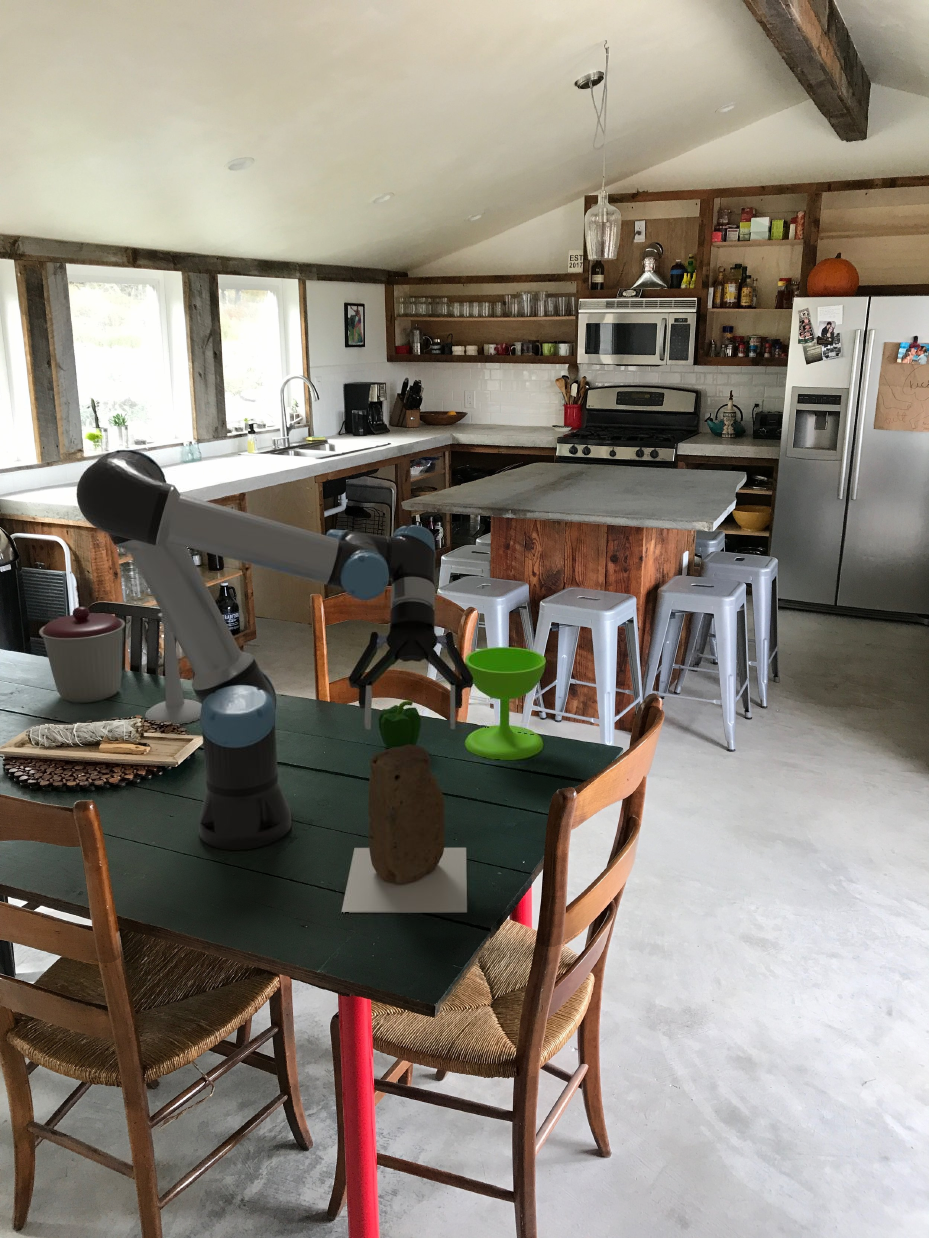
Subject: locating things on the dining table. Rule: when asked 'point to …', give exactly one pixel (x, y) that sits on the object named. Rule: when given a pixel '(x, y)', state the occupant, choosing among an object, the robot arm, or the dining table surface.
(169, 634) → the candlestick
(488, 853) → the dining table surface
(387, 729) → the bell pepper
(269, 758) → the robot arm
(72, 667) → the canister
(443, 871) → the tile
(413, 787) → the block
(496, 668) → the wineglass
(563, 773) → the dining table surface
